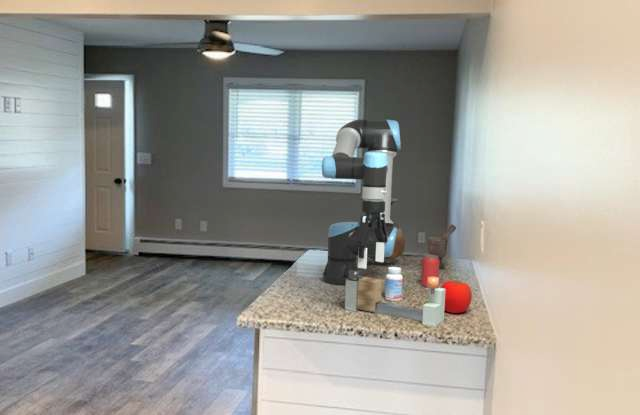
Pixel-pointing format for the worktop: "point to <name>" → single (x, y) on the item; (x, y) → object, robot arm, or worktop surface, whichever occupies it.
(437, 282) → the cylinder
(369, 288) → the block
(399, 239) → the vase
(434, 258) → the beer can
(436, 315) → the pale stepped block
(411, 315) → the rail
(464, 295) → the tomato
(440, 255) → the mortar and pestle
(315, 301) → the worktop surface
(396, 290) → the pill bottle
